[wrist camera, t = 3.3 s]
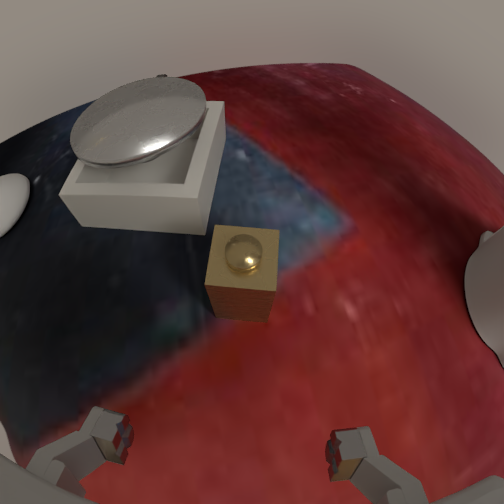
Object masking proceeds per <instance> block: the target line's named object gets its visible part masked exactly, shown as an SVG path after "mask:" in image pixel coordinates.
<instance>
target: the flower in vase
mask: <svg viewBox="0 0 504 504" xmlns="http://www.w3.org/2000/svg"><path fill="white" fill-rule="evenodd" d="M29 194H30V183H29V180H28V178H27V177H25V176H23V175H21V174H7V175H3V176H0V237H2V236H3V235H4V234H6V233H7V232H8V231H9V230H10V229H11V228H12V227H13V226H14V224H15V223H16V222H17V221H18V219H19V218H20V216H21V214H22V213H23V211H24V209H25V207H26V205H27V202H28V199H29Z"/></svg>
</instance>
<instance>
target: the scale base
mask: <svg viewBox="0 0 504 504" xmlns="http://www.w3.org/2000/svg"><path fill="white" fill-rule="evenodd" d="M225 141H226V128H225V109H224V101H206V115H205V118H204V120H203V122H202V124H201V125H200V126H199V128H198V129H197V130H196V131H195V132H194V133H193V134H192V135H191V136H190V137H189V138H188V139H187V140H185V141H184V142H183V143H181V144H180V145H179V146H177V147H175V148H174V149H172V150H170V151H168V152H166V153H165V154H163V155H161V156H159V157H157V158H156V159H154V160H152V161H150V162H147V163H140V164H136V165H132V166H128V167H122V168H113V169H102V168H95V167H91V166H88V165H86V164H84V163H83V162H81V161H80V160H79V159H78V160H77V162H76V163H75V165H74V167H73V169H72V170H71V172H70V174H69V176H68V178H67V180H66V182H65V183H64V185H63V187H62V189H61V191H60V193H59V196H60V197H61V199H62V200H63V202H64V203H65V204H66V206H67V207H68V208H69V210H70V211H71V212H72V214H73V215H74V216H75V218H76V219H77V220H78V222H79V223H80V224H81V226H84V227H99V228H113V229H128V230H141V231H155V232H168V233H181V234H194V235H205V234H206V229H207V224H208V219H209V214H210V209H211V204H212V199H213V194H214V190H215V185H216V180H217V176H218V171H219V167H220V162H221V158H222V154H223V149H224V145H225Z"/></svg>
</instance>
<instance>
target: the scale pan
mask: <svg viewBox="0 0 504 504" xmlns="http://www.w3.org/2000/svg"><path fill="white" fill-rule="evenodd" d="M205 115H206V98H205V94H204V92H203V90H202V89H201V88H200V87H199V86H198V85H196V84H195V83H193V82H191V81H188V80H185V79H181V78H175V77H167V75H165V74H164V75H158V76H157V77H156V78H148V79H143V80H139V81H135V82H132V83H129V84H126V85H123V86H121V87H119V88H117V89H114V90H112V91H110V92H109V93H107V94H105V95H104V96H102V97H100V98H99V99H98V100H96V101H95V102H94V103H92V104H91V105H90V106H89V107H88V108H87V109H86V110H85V111H84V112H83V113H82V114H81V115H80V117H79V118H78V119H77V121H76V122H75V124H74V126H73V128H72V131H71V136H70V143H71V146H72V149H73V151H74V153H75V154H76V156H77V158H78V159H79V160H80V161H81V162H83V163H84V164H86V165H88V166H91V167H95V168H102V169H113V168H122V167H128V166H132V165H136V164H140V163H147V162H150V161H152V160H154V159H156V158H157V157H159V156H161V155H163V154H165V153H166V152H168V151H170V150H172V149H174V148H175V147H177V146H179V145H180V144H181V143H183V142H184V141H185V140H187V139H188V138H189V137H190V136H191V135H192V134H193V133H194V132H195V131H196V130H197V129H198V128H199V126H200V125H201V124H202V122H203V120H204V118H205Z"/></svg>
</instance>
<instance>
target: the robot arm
mask: <svg viewBox="0 0 504 504" xmlns="http://www.w3.org/2000/svg"><path fill="white" fill-rule="evenodd" d="M465 295H466V301H467V306H468V309H469V313H470V316H471V319H472V321H473V323H474V326H475V328H476V330H477V332H478V333H479V335H480V336H481V338H482V339H483V341H484V342H485V343H486V344H487V345H488V346H489V347H490V348H491V349H492V350H493V351H495V353H496V354H497V355H498V357H499V359H500V362H501V364H502V366H503V367H504V226H503V227H502V228H500V229H499V230H498V231H497V232H495V233H492V232H490V231H486V232H484V233H483V234H482V235H481V237H480V242H479V247H478V248H477V250H476V251H475V252H474V253H473V254H472V255H471V257H470V258H469V260H468V263H467V266H466V271H465ZM129 421H130V419H129V416H128V415H126V414H122V413H118V412H115V411H111V410H107V409H104V408H100V407H97V406H95V407H93V408H92V410H91V411H90V413H89V415H88V417H87V418H86V420H85V422H84V423H83V425H82V427H81V429H80V430H79V432H78V431H75V432H73V433H71V434H69V435H67V436H65V437H63V438H61V439H59V440H57V441H55V442H52V443H50V444H48V445H46V446H44V447H42V448H40V449H38V450H37V451H36V453H35V454H34V456H33V458H32V459H31V461H30V463H29V464H28V466H27V468H26V469H24V468H22V467H21V466H19V465H17V464H16V463H14V462H12V461H11V460H9V459H8V458H6V457H5V456H3V455H2V454H0V504H99V503H96V502H93V501H91V500H88V499H86V498H84V496H85V493H86V491H85V489H84V488H83V487H82V485H81V484H80V483H79V482H78V481H80V480H81V479H82V478H84V477H85V476H87V475H88V474H89V473H91V472H92V471H94V470H95V469H96V468H98V467H99V466H100V465H102V464H103V463H104V462H106V460H107V461H111V462H114V463H118V464H122V465H124V464H125V461H126V459H127V456H128V451H127V448H129V447H131V446H132V443H133V440H134V430H133V427H132V426H131V425H130V424H129ZM330 438H331V439H330V440H328V441H327V444H326V448H325V457H326V461H327V462H328V463H329V464H330V466H329V468H328V473H329V478H330V482H332V481H342V480H350V481H351V482H352V483H353V484H354V485H355V486H356V487H357V488H358V489H359V490H360V491H361V492H362V493H363V494H364V495H365V496H366V497H367V498H368V499H369V500H370V501H371V502H372V503H373V504H504V479H503V478H501V477H498V476H496V475H492V476H489V477H487V478H485V479H483V480H481V481H479V482H477V483H475V484H473V485H471V486H469V487H467V488H465V489H463V490H460V491H458V492H456V493H454V494H451V495H449V496H447V497H444V498H442V499H439V500H437V501H434V502H432V503H428V500H427V497H426V495H425V492H424V489H423V487H422V484H421V482H420V481H419V480H418V479H416V478H415V477H413V476H412V475H410V474H409V473H408V472H406V471H405V470H403V469H402V468H400V467H399V466H398V465H396V464H395V463H393V462H392V461H391V460H389V459H388V458H386V457H385V456H384V455H379V452H378V450H377V447H376V444H375V441H374V438H373V436H372V433H371V430H370V428H369V427H368V426H365V427H358V428H346V429H337V430H332V431H331V434H330Z"/></svg>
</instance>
